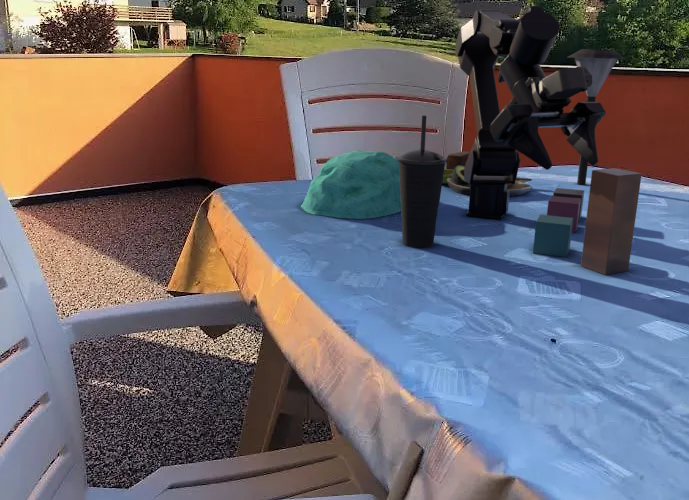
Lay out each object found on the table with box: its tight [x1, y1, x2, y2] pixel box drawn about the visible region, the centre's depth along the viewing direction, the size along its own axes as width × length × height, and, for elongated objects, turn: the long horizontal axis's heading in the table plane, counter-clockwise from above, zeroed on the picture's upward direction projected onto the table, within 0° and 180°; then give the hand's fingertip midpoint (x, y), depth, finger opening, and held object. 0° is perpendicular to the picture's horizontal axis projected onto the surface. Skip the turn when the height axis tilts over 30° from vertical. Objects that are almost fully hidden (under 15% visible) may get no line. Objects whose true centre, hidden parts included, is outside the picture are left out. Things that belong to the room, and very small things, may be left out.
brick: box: [445, 150, 470, 170], centre depth 176 cm, size 11×4×5 cm, turn 149°
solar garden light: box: [567, 48, 626, 186], centre depth 160 cm, size 12×12×30 cm
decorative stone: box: [300, 149, 401, 220], centre depth 139 cm, size 21×27×10 cm
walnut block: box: [580, 167, 643, 276], centre depth 99 cm, size 5×5×14 cm
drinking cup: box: [396, 115, 447, 248], centre depth 109 cm, size 8×8×20 cm
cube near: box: [532, 214, 573, 258], centre depth 109 cm, size 5×5×5 cm
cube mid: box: [546, 195, 581, 233], centre depth 123 cm, size 5×5×5 cm
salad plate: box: [447, 165, 533, 197], centre depth 156 cm, size 19×18×5 cm
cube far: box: [552, 187, 585, 223], centre depth 130 cm, size 5×5×5 cm
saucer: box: [442, 168, 453, 185], centre depth 163 cm, size 9×9×2 cm
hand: (573, 165), depth 104 cm, fingers open, 9 cm apart
